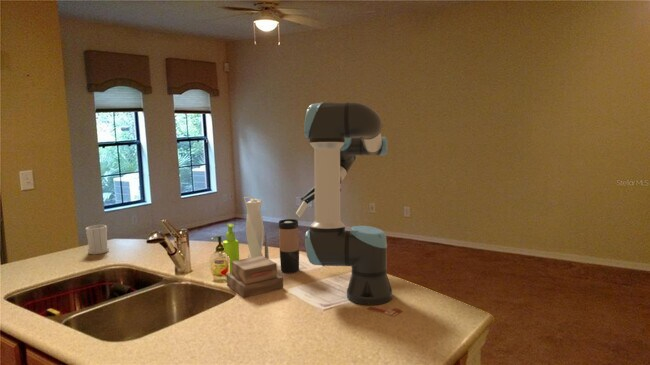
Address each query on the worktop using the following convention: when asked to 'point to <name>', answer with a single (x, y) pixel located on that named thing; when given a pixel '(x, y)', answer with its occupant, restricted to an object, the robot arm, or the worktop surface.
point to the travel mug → (289, 245)
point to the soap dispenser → (231, 245)
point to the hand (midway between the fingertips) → (308, 217)
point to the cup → (97, 239)
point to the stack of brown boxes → (254, 276)
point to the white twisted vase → (255, 228)
